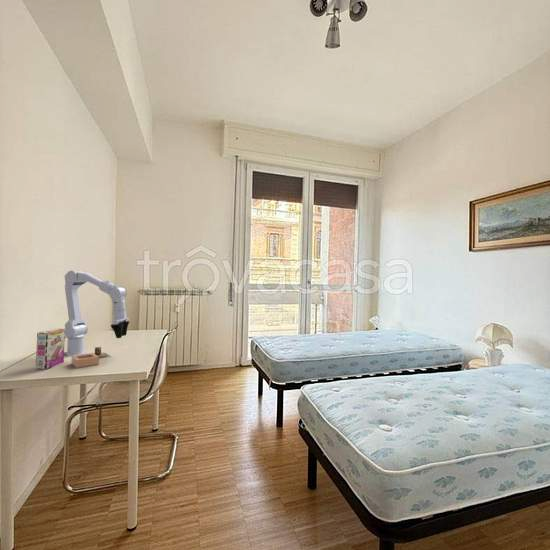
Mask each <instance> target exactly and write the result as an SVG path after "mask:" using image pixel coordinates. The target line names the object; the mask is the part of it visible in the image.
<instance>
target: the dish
mask: <svg viewBox="0 0 550 550" xmlns="http://www.w3.org/2000/svg"><path fill="white" fill-rule="evenodd" d="M94 353H95V352H91V353H86V354H80V355H73V356H71V365H72V367H74V368H75V369H80V368H86V367H92V366H97V365H98V366H99V360H100V359H99V357H98V356H97V355H96V354H94Z"/></svg>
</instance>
